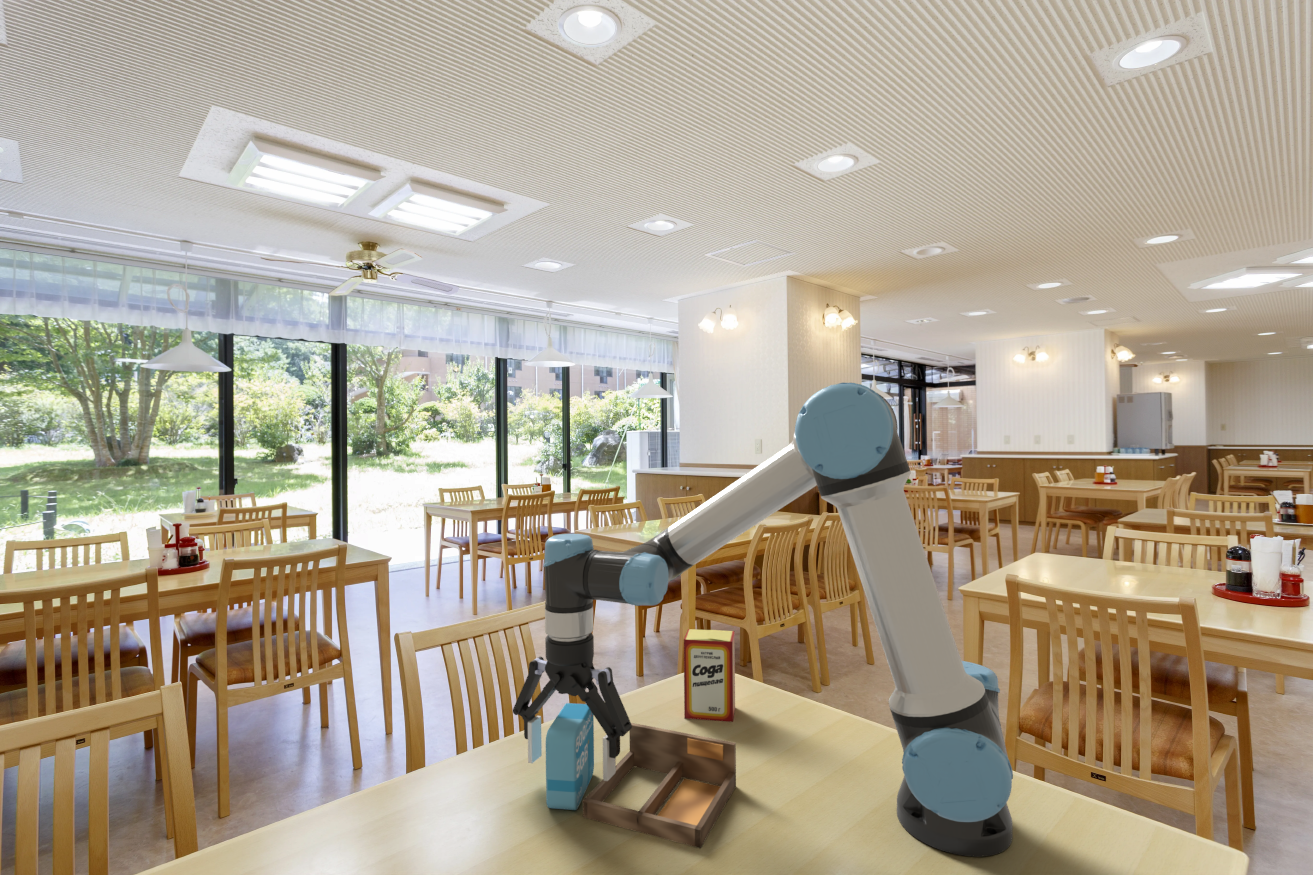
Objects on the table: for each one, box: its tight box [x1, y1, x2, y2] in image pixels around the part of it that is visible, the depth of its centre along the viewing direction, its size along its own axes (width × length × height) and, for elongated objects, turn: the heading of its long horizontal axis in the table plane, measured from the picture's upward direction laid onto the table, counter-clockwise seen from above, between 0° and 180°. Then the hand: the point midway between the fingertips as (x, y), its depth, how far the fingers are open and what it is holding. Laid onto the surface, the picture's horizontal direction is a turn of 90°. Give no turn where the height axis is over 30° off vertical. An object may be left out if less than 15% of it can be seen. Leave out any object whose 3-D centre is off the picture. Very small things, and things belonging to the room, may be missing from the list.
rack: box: [582, 722, 737, 849], centre depth 101 cm, size 18×17×7 cm
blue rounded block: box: [545, 702, 595, 811], centre depth 104 cm, size 12×4×12 cm, turn 172°
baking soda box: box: [683, 628, 736, 723], centre depth 131 cm, size 10×6×16 cm
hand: (571, 767), depth 104 cm, fingers open, 13 cm apart
